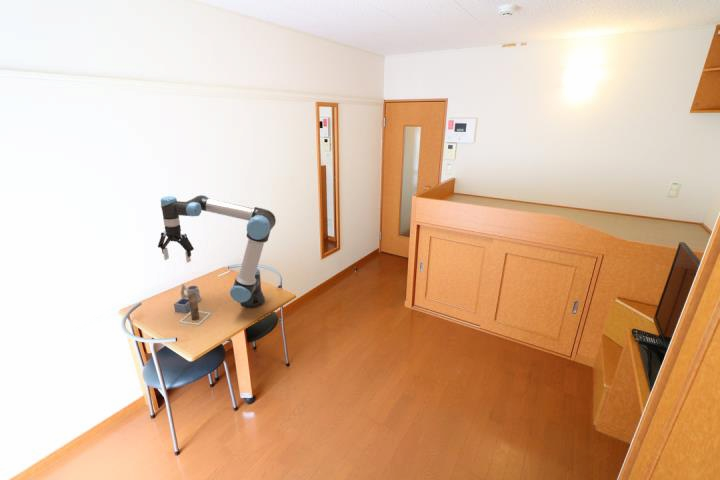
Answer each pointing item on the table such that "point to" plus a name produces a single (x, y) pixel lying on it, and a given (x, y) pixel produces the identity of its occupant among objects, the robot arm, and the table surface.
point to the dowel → (193, 306)
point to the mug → (190, 291)
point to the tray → (195, 323)
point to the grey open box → (182, 305)
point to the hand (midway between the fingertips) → (177, 260)
